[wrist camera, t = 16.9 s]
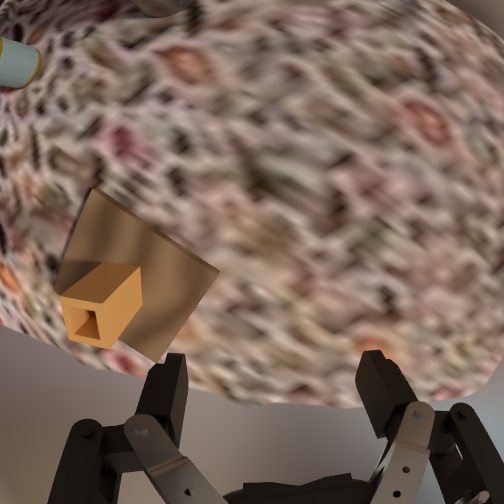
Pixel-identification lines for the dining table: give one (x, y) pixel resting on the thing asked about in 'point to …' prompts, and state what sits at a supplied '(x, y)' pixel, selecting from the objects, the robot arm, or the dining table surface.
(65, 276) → the base plate
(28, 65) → the bottle
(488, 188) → the dining table surface
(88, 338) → the sleeve
